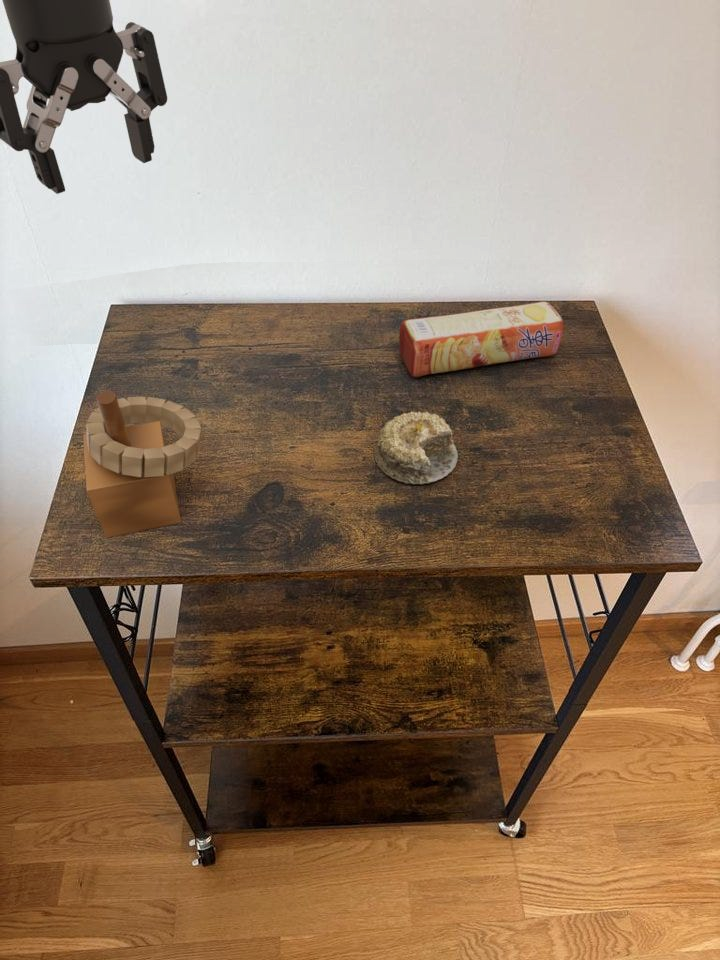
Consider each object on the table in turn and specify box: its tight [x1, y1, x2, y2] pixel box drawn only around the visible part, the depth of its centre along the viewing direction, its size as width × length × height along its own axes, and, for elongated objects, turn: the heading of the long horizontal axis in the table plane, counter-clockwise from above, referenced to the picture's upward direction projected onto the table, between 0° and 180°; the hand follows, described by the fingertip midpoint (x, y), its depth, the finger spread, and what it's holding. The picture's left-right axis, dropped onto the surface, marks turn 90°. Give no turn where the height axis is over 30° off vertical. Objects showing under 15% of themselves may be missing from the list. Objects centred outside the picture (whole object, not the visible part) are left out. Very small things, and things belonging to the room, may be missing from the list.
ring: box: [85, 396, 202, 477], centre depth 76 cm, size 11×11×2 cm
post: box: [82, 390, 182, 539], centre depth 75 cm, size 8×8×16 cm
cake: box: [373, 411, 459, 485], centre depth 85 cm, size 10×10×5 cm
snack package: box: [398, 301, 564, 378], centre depth 96 cm, size 21×7×7 cm, turn 105°
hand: (101, 173), depth 65 cm, fingers open, 8 cm apart
